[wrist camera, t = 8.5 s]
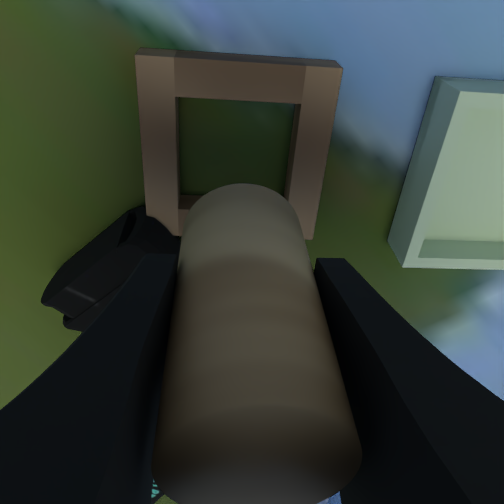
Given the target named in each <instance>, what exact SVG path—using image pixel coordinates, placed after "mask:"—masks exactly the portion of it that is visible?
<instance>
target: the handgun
mask: <svg viewBox="0 0 504 504" xmlns="http://www.w3.org/2000/svg"><path fill="white" fill-rule="evenodd" d="M180 246H181V242H180V240H179V238H178V236H173V235H172V234H171V233H170V231H169V230H168V229H167V228H166V227H165V226H164V225H163V224H162V223H160V222H159V221H158V220H157V219H156V218H154V217H151V216H147V215H146V207H138V208H135V209H132V210H129V211H128V212H126V213H125V214H124V215H123V216H122V217H120V218H119V219H118V220H117V221H115V222H114V223H113V224H112V225H111V226H109V227H108V228H107V229H106V230H104V231H103V232H102V233H101V234H100V235H98V236H97V237H96V238H95V239H93V240H92V241H91V242H90V243H89V244H87V245H86V246H85V247H84V248H83V249H81V250H80V251H79V252H78V253H76V254H75V255H74V256H73V257H72V258H70V259H69V260H68V261H67V262H65V263H64V264H63V266H62V267H61V268H60V269H59V270H58V271H57V272H56V274H55V275H54V276H53V278H52V279H51V281H50V282H49V284H48V285H47V287H46V289H45V291H44V293H43V295H42V298H41V303H42V304H43V305H45V306H49V307H53V308H55V309H56V310H58V311H60V312H61V313H63V314H64V316H63V325H64V326H65V327H66V328H67V329H72V330H77V331H82V332H83V331H84V330H85V329H86V328H87V327H88V326H89V325H90V324H91V323H92V322H93V321H94V319H95V318H96V317H97V316H98V315H99V314H100V312H101V311H102V310H103V309H104V307H105V306H106V305H107V304H108V303H109V301H110V300H111V299H112V298H113V297H114V295H115V294H116V293H117V292H118V290H119V289H120V288H121V287H122V285H123V284H124V283H125V281H126V280H127V279H128V277H129V276H130V275H131V273H132V272H133V270H134V269H135V268H136V266H137V265H138V263H139V262H140V260H141V259H142V257H144V256H145V255H146V254H147V253H154V254H176V256H177V268H178V261H179V253H180ZM163 495H164V493H163V492H162V491H161V490H160V489H159V488H158V486H157V484H156V483H155V481H153V487H152V496H151V504H154V503H155V502H156V501H157V500H158V499H159V498H161V497H162V496H163Z"/></svg>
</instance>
